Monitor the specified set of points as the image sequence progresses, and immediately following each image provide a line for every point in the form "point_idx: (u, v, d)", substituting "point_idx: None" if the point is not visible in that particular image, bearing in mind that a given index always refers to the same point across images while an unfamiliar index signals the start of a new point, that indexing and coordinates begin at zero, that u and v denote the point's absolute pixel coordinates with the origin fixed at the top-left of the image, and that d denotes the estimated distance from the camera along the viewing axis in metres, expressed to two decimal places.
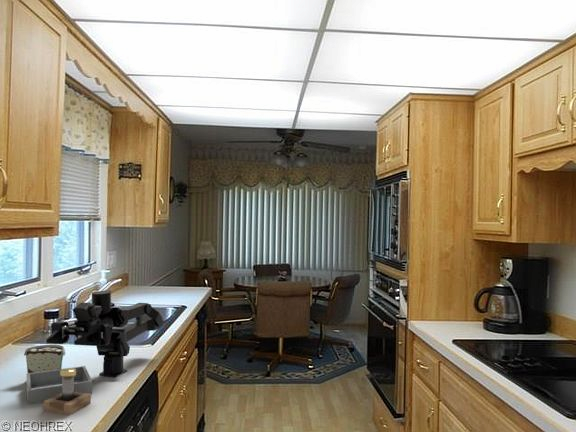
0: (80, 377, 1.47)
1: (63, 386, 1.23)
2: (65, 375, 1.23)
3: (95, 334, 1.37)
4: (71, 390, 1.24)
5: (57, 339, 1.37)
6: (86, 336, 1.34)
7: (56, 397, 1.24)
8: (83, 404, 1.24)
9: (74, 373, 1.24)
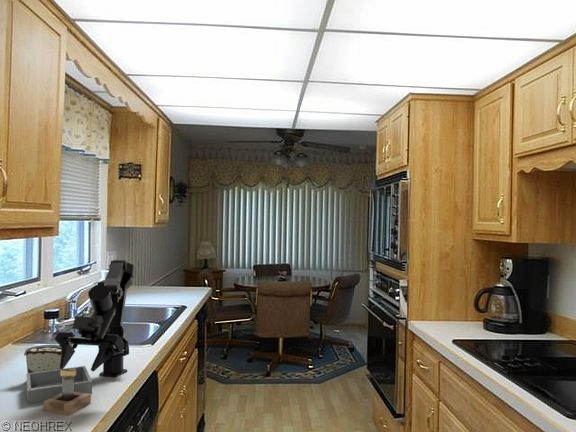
0: (80, 377, 1.47)
1: (63, 386, 1.23)
2: (65, 375, 1.23)
3: (107, 348, 1.31)
4: (71, 390, 1.24)
5: (69, 355, 1.32)
6: (100, 357, 1.29)
7: (56, 397, 1.24)
8: (83, 404, 1.24)
9: (74, 373, 1.24)
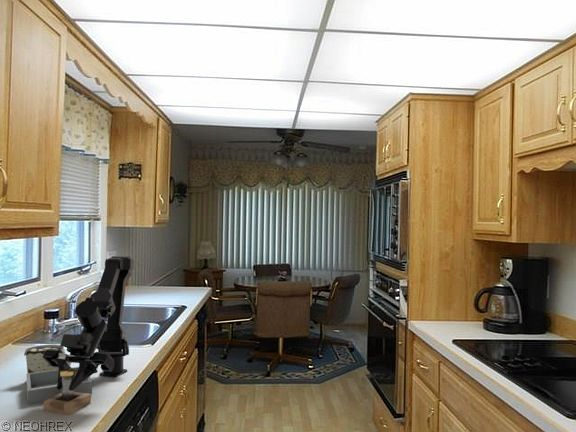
0: None
1: (63, 386, 1.23)
2: (65, 375, 1.23)
3: (87, 366, 1.27)
4: None
5: None
6: (79, 376, 1.24)
7: (56, 397, 1.24)
8: (83, 404, 1.24)
9: (74, 373, 1.24)
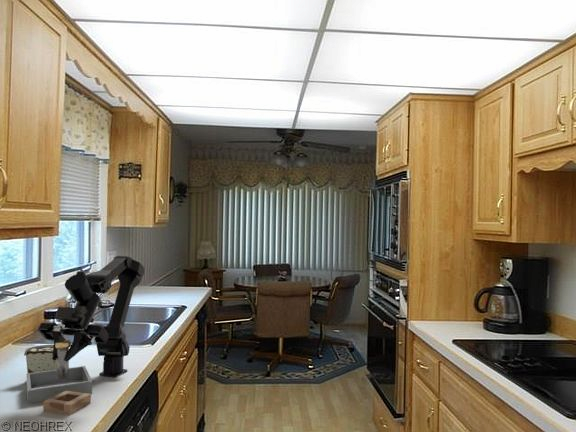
0: (80, 377, 1.47)
1: (58, 357, 1.27)
2: (60, 346, 1.26)
3: (82, 338, 1.30)
4: (66, 361, 1.27)
5: None
6: (74, 347, 1.28)
7: (56, 397, 1.24)
8: (83, 404, 1.24)
9: (69, 344, 1.28)
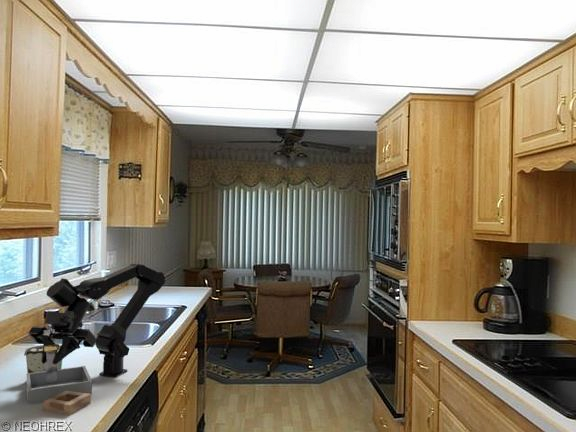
0: (80, 377, 1.47)
1: (47, 360, 1.32)
2: (49, 350, 1.32)
3: (70, 342, 1.36)
4: (55, 364, 1.33)
5: None
6: (62, 351, 1.34)
7: (56, 397, 1.24)
8: (83, 404, 1.24)
9: (57, 348, 1.33)
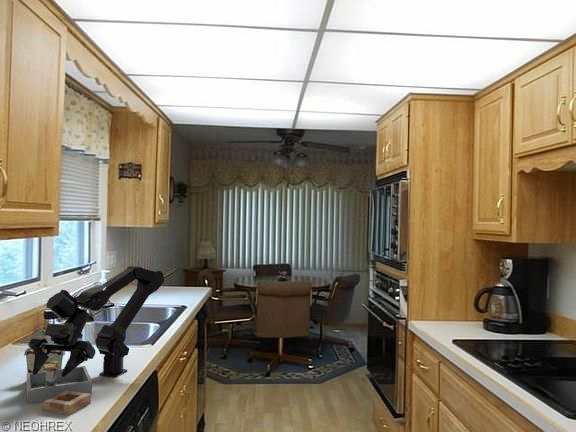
0: (80, 377, 1.47)
1: (47, 377, 1.32)
2: (48, 367, 1.32)
3: (78, 355, 1.35)
4: (54, 381, 1.33)
5: (42, 361, 1.37)
6: (70, 364, 1.33)
7: (56, 397, 1.24)
8: (83, 404, 1.24)
9: (57, 365, 1.33)
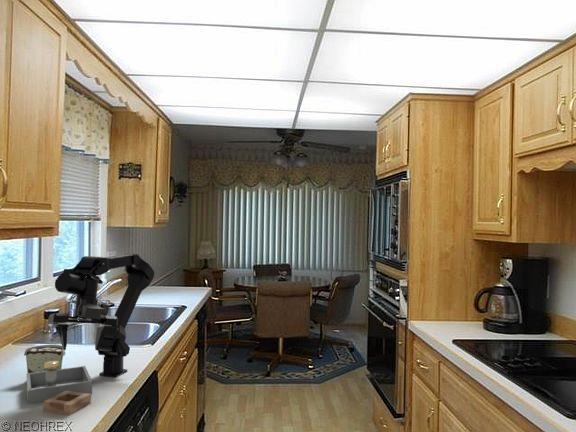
0: (80, 377, 1.47)
1: (47, 377, 1.32)
2: (48, 367, 1.32)
3: None
4: (54, 381, 1.33)
5: None
6: None
7: (56, 397, 1.24)
8: (83, 404, 1.24)
9: (57, 365, 1.33)
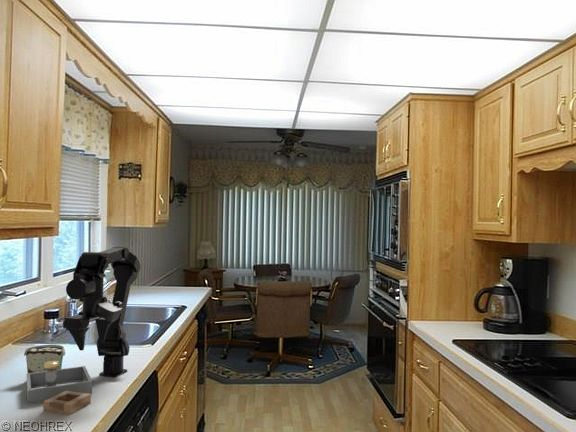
0: (80, 377, 1.47)
1: (47, 377, 1.32)
2: (48, 367, 1.32)
3: None
4: (54, 381, 1.33)
5: None
6: None
7: (56, 397, 1.24)
8: (83, 404, 1.24)
9: (57, 365, 1.33)
